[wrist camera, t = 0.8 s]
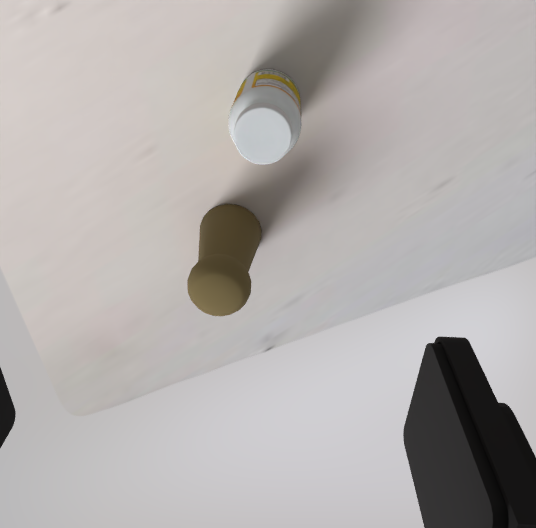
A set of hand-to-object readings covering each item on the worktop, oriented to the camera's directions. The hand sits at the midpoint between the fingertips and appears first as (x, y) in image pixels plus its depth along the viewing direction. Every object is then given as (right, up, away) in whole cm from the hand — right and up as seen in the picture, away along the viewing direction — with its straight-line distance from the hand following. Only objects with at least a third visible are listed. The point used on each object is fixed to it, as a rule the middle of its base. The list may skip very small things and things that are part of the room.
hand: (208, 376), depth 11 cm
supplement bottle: (+1, +16, +31) cm, 35 cm away
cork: (-2, +6, +38) cm, 38 cm away
